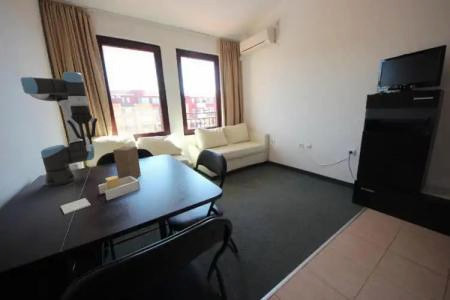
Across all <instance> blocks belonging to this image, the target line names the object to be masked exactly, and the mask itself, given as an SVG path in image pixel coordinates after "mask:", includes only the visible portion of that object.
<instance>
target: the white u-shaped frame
mask: <svg viewBox="0 0 450 300" xmlns="http://www.w3.org/2000/svg"><path fill="white" fill-rule="evenodd" d="M119 183H120V186H119V187H116V188H112V189H109V190H107V185H106V182H105V183H104V182H103V183H102V184H98V186H97V187H98V191H99V194H100V195H103V194H105V198H106V200H107V201H110V200H112V199H115V198H119V197H122V196H124V195H126V194H129V193H132V192H135V191H137V190H140V189H141V187H140V186H141V185H140V180H138V179H136V177H135V178H133V177H131V176H128V177H124V178H121V179H119Z"/></svg>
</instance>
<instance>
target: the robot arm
mask: <svg viewBox="0 0 450 300" xmlns="http://www.w3.org/2000/svg"><path fill="white" fill-rule="evenodd" d="M62 77H63V78H46V77H32V76H28V77H27V76H25V77H23V76H22V77H21V78H20V82H21V87H22V89H23V92H24V93H25V94H27V95H29V96H31V98H33V99H36V100H40V101H43V102H44V101H46V102H47V101H48V102H56V103H57V105H59V107H60V108H61V110H62V114H63V118H64V123H65V126H66V130H67V134H68V138H69V142H68V145H67V146H65V144H57V145H56V144H55V145H53V146H49V147H46V148H43V149H42V150H41V151H40V154H41V159H42V163H43V166H44V170H45V178H44V184H45V186H46V187H58V186H62V185H63V186H64V185H66V184H70V183H73V182H74V181H76V179H77V177H76V174H75V173H74V170H72V168H71V167H70V166H71V164H76V163H77V164H78V163H83V162H89V161H92V160H94V158H95V146H94V143H93V141H92V138H94V137H95V136H96V129H97V128H96V127H97V122H98V118H96V117H93V116H92V114H91V112H90V107H89V101H88V98H87V92H86V87H85V82H84V81H85V80H84V77H83V74H82V73H80V72H76V71H64V72H63V73H62ZM90 122H92V123H91V128H90V126H89V125H90V124H89V123H90ZM84 128H85V129H84ZM90 129H91V130H90ZM85 132H86V133H85Z"/></svg>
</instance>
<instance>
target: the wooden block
mask: <svg viewBox="0 0 450 300" xmlns="http://www.w3.org/2000/svg"><path fill="white" fill-rule="evenodd" d="M112 151H113V156H114V162H115V168H116V172H117V177H118V178H119V179H121V178H124V177H128V176H131V177H133V178H135V179H136V178H137V177H138V176H141V173H142V172H141V166H140V160H139V154H138V153H139V151H138V147H137V146H125V145H123V146H121V147H118V148H115V149H113V150H112Z"/></svg>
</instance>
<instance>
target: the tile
mask: <svg viewBox="0 0 450 300" xmlns="http://www.w3.org/2000/svg"><path fill="white" fill-rule="evenodd" d="M90 206H92V205H91V203H90V202H89V200H88V199H87V198H86V197H84V198H81V199H78V200H73V201H72V202H68V203H65V204H63V205H60V208H61V210H62V212H63V214H64V215H67V214H70V213H73V212H76V211H78V210H81V209H85V208H87V207H90Z"/></svg>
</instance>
